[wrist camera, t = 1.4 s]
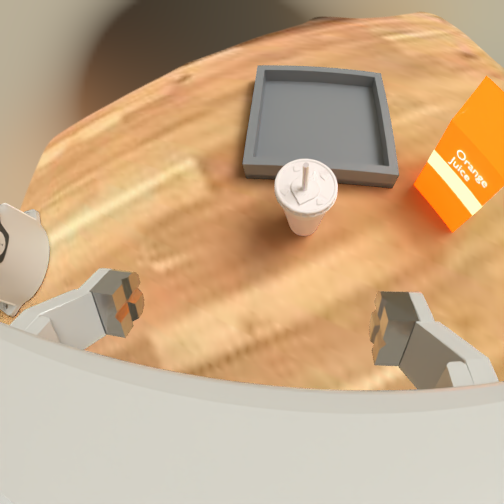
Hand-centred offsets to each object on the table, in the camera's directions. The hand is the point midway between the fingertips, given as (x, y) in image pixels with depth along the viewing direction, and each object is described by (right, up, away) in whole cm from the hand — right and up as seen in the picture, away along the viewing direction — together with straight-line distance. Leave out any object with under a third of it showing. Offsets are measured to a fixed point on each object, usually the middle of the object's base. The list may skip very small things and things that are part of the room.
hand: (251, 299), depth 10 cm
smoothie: (+7, +5, +30) cm, 31 cm away
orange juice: (+28, +9, +28) cm, 41 cm away
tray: (+10, +20, +34) cm, 41 cm away
